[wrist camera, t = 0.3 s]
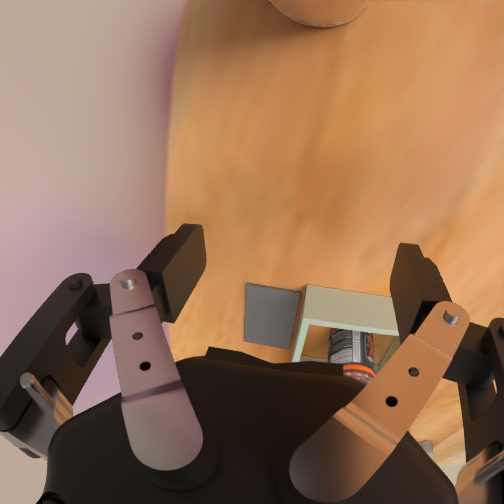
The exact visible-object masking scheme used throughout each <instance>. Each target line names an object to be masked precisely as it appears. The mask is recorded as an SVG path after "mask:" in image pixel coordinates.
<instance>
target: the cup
mask: <svg viewBox="0 0 504 504" xmlns="http://www.w3.org/2000/svg"><path fill="white" fill-rule="evenodd" d="M418 443H419V444H420V446H421V447H422V448H423V449H424V450H425V451H426V453H427V454H428V455H429V456H430V457H431V458H432V460H433V461H434V462H435V460H434V453H433V447H432V441H430V440H426V441H421V442H418Z"/></svg>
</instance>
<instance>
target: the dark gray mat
mask: <svg viewBox="0 0 504 504" xmlns="http://www.w3.org/2000/svg"><path fill="white" fill-rule="evenodd" d="M300 293H301V292H299V291H293V290H287V289H281V288H275V287H269V286H264V285H258V284H252V283H247V285H246V306H245V329H244V341H246V342H251V343H257V344H262V345H267V346H273V347H279V348H284V349H289V346H290V341H291V337H292V332H293V327H294V323H295V318H296V313H297V308H298V303H299V298H300Z"/></svg>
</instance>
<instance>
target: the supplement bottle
mask: <svg viewBox="0 0 504 504" xmlns="http://www.w3.org/2000/svg"><path fill="white" fill-rule="evenodd" d="M328 362H329V363H341V364H343V374H345V375H349V376H351V377H353V378H356V379H357V380H359V381H361V382H363V383H364V384H366V385H367V384H368V383H369V382H370V381H371V380H372V379H373V378H374V377H375V364H374V347H373V335H372V333H369V332H361V331H354V330H346V329H339V328H333V329H332V330H331V332H330V337H329V349H328Z"/></svg>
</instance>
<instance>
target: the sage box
mask: <svg viewBox="0 0 504 504" xmlns="http://www.w3.org/2000/svg"><path fill="white" fill-rule="evenodd" d="M309 324H313V325H319V326H326V327H332V328H339V329H346V330H354V331H361V332H369V333H377V334H385V335H394V336H396V337H395V339H394V341H393V342H392V344H391V346H390V348H389V349H388V351H387V353H386V355H385V356H384V358H383V360H382V362H381V363H380V365H375V375H376V374H377V373H378V372H379V371H380V370H381V369H382V367H383V366H384V365H385V364H386V363H387V362H388V360H389V359H390V358H391V357H392V356H393V354H394V353H395V352H396V351H397V350H398V348H399V347H400V346H401V345H400V339H399V333H398V327H397V322H396V317H395V312H394V307H393V302H392V297H386V296H379V295H372V294H366V293H359V292H352V291H346V290H339V289H333V288H327V287H320V286H314V285H308V284H307V288H306V293H305V298H304V302H303V307H302V311H301V316H300V320H299V325H298V329H297V334H296V338H295V342H294V347H293V351H292V355H291V360H290V363H291V362H302V361H318V362H328V359H322V358H315V357H309V356H302V355H301V353H302V349H303V346H304V342H305V338H306V335H307V331H308V327H309Z"/></svg>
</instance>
